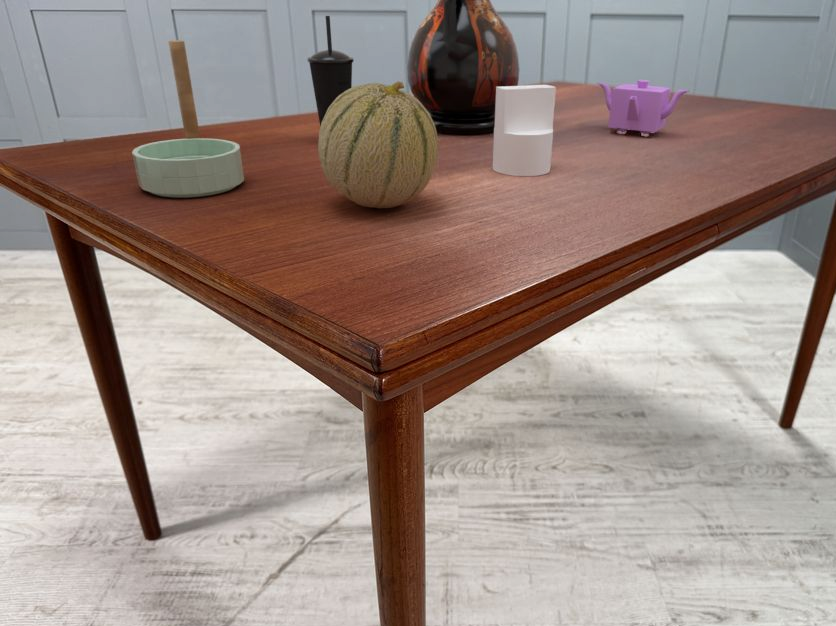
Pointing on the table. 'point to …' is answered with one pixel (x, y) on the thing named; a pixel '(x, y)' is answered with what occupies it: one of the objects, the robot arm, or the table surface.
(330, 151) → the cantaloupe
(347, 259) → the table surface
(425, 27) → the amphora vase
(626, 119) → the teapot
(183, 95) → the stirring stick
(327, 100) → the drinking cup
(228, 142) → the bowl
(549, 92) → the base with upright slab
